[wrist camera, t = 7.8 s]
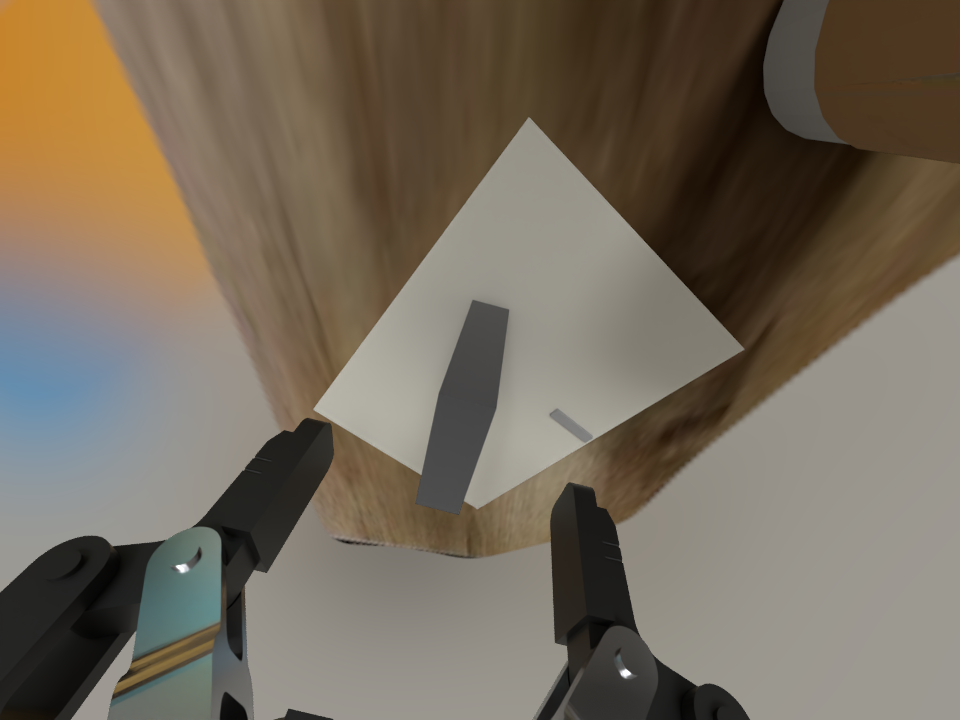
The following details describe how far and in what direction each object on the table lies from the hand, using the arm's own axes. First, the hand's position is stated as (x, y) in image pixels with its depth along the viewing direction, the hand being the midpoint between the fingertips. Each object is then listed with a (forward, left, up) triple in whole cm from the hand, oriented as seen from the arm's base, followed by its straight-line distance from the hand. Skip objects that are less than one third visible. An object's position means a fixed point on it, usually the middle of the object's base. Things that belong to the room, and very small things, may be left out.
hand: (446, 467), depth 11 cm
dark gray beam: (+3, +1, -7) cm, 8 cm away
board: (+1, +2, -10) cm, 11 cm away
